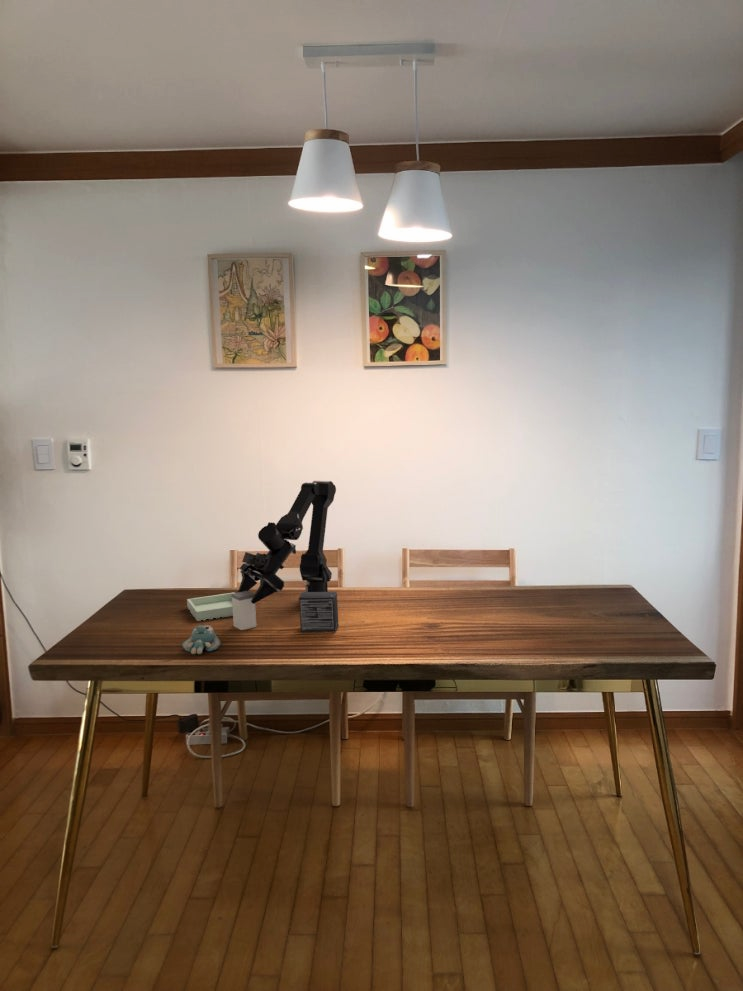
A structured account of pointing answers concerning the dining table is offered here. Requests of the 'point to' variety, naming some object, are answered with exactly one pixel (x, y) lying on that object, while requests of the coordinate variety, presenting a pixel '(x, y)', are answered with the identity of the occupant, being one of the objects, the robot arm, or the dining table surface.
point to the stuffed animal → (201, 640)
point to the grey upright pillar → (243, 610)
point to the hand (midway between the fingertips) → (245, 599)
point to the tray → (211, 606)
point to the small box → (318, 611)
